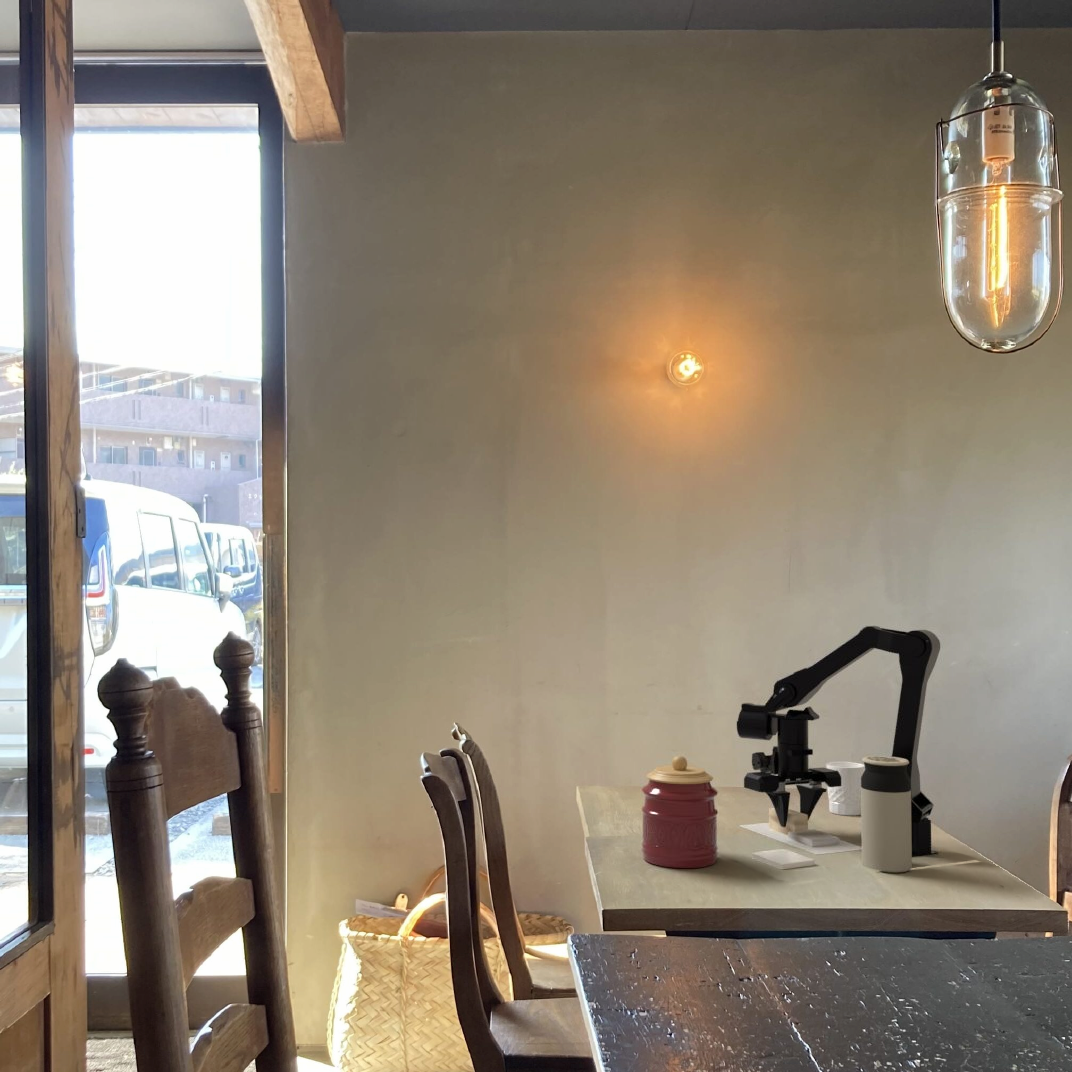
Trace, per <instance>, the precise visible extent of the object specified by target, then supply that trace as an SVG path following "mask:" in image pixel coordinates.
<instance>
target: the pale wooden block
mask: <svg viewBox="0 0 1072 1072" xmlns="http://www.w3.org/2000/svg"><path fill="white" fill-rule="evenodd" d="M808 822H809V820H808V815H807V814H803V813H800V811H798V810H794V809H792V808H791V809H790V808H789V809H788V818H787V823H786V827H781V825H780V823H779V820H778V817H777V814H776V811H775V808H774V806H773V807H768V823H769V829H771V830H774V831H777V832H780V833H783V834H785V835H788V839H791V840H794V841H796V842H799V843H802V844H805V845H808V846H810V847H818V846H827V845H837V844H839V840H840V837H839V836H835V835H832V834H829V833H826V832H823V831H820V830H817V829H813V828H812V829H810V830H808V829H809V823H808Z"/></svg>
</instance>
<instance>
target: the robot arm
mask: <svg viewBox="0 0 1072 1072" xmlns="http://www.w3.org/2000/svg"><path fill="white" fill-rule="evenodd" d="M875 649H876V650H880V651H884V652H887V653H891V654H896V655H897V654H898V660H899V662H898V663H899V668H900V673H901V688H900V694H899V695H900V696H899V702H898V709H897V716H896V723H895V731H894V738H893V745H892V752H891V753H892V754H891V756H890V757H898V758H903V759H907V760H908V761H909V764H908V765H907V771H906V772H907V774H908V776H909V778H910V780H911V839H912V858H915V857H923V856H934V855H938V854H939V851H937V850H934V849H933V850H932V820H931V819H929V816H930V815H931V814H932V811H933V808H934V803H933V802H932V801H931V800H930V799H929V798H928V797H927V796H926V795H925V793H923V791H921V779H920V778H921V774H920V769H919V764H918V751H919V745H920V744H919V743H920V737H921V729H922V723H923V722H922V721H923V717H924V716H923V715H924V707H925V701H926V694H927V686H928V682H929V679H930V677H931V675H932V673H933V670H934V668H935V666H936V663H937V659H938V657H939V654H940V651H941V641H940V639H939V637H937V635H936V634H935V633H934V632H932V631H931V630H927V629H914V630H910V631H905V630H904V631H902V630H895V629H890V628H883V627H880V626H877V625H867V626H864V627H862V628H861V629H860V630H859V632H857V633H856V634H854V635H853V636H852V637H850V638H848V639H847V640H846V641H844V642H843V643H841V644H840V645H838V646H837V647H836V648H834V649H833V650H832V651H830V652H828V653H827V654H826V655H824V656H823V657H821V658H820V659H818V660H817V661H815V662H813V664H811V665H809V666H807V667H804V668H802V669H799V670H797V671H794V672H791V673H790V674H787V675H785V676H783V677H781V678H779V679H777V681H776V682H775V683H774V685H773V690H772V691H773V693H772V695H771V696H770V697H769V699H768V700H767V702H766V703H765V704H754V703H751V702H745V703H741V709H740V712H739V713H738V717H737V720H736V732H737V735H738V737H739V738H741V739H750V740H761V741H771V740H772V738H773V736H776V735H777V740H776V741H777V744H776V746H775V745H774V746H773V747H772V754H768V755H766V754H765V752H764V751H761V752H760V751H758V752H754V753H752V754H751V766H752V769H753V770H754V771H755V772H747V773H746V774H745V776H744V778H743V788H745V789H748V790H751V791H755V792H758V793H765V794H766V795H767V797H768V798H769V799H770V801H771V804H772V805H773V807H774V808H775V811H776V814H777V817H778V820H779V823H780V825H781V827H786V823H787V818H788V809H790V808H789V807H790V800H791V799H790V797H791V792H790V791H787V790H786V786H793V785H795V787H796V789H797V791H798V793H799V812H800V813H803V814H807V815H808V821H809V819H810V817H811V816H812V814H813V811H814V810H815V808H816V806H817V804H818V803H819V801H820V799H821V797H822V796H823V794H824V793H827V792H828V789H827V788H824V787H823V784H822V783H824V784H825V785H826V787H827V786H828V787H839V786H842V777H841V775H840V774H839V772H838V771H836V770H832V769H828V768H826V767H812V768H811V767H809V756H813V755H814V751H813V748H809V721H810V722H811V721H817V720H819V719H820V715H819V714H818V713H817V712H815V710H813V708H812V707H811V706H807V707H804V709H789V708H794V707H799V706H802V705H805V704H807V703H808V702H810V700H811V699H812V698H813V697H814V696H815V695H816V694H817V693H819V691H820V690H821V688H822V687H823V685H825V684H826V683H827V682H828V681H829V680H831V678H833V677H834V676H836V675H837V674H839V673H841V672H842V671H844V670H845V669H846V668H848V667H849V666H851V665H853V664H854V663H855V662H857V661H858V660H860V659H861V658H863V657H864V656H866V655H867V654H868V653H869V652H872V651H873V650H875ZM786 709H788V711H786V713H777V712H779V711H784V710H786Z"/></svg>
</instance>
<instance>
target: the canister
mask: <svg viewBox="0 0 1072 1072" xmlns="http://www.w3.org/2000/svg"><path fill="white" fill-rule="evenodd" d="M646 779H648V783H647V784H645V785H644V786H643V787H642V788H641V792H642V793H643V794H644V805H643V806H642V808H641V811H642V841H641V852H642V856H643V857H642V858H643V859H644V861H646V862H647V863H650V864H653V865H655V866H660V867H664V868H672V869H673V868H675V869H677V868H678V869H696V868H703V867H704V868H705V867H709V866H711V865H713V864H715V863H716V861H717V857H718V854H719V852H718V849H719V847H718V842H717V836H718V835H717V833H718V832H717V829H718V828H717V821H718V820H717V817H718V814H719V811H718V809H717V808H716V804H715V798H716V797H717V795H718V794H719V792H718V790H717V788H715V787H714V786H712V784H711V782H712V781H713V779H714V777H713V776H712V775H711V774H709V773H708V772H706V771H705V769H704V768H700V767H696V766H688V760H687V758H686V757H684V756H682V755H676V756H675V757H673V759H672V762H671V765H663V766H657V767H655V769H653V770H652V771H650V772H648V773H647V774H646Z"/></svg>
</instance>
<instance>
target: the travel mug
mask: <svg viewBox="0 0 1072 1072" xmlns="http://www.w3.org/2000/svg"><path fill="white" fill-rule="evenodd" d="M861 760H862V762H863V765H865V771H864V773H863V775H862V777H861V815H860V817H861V818H860V819H861V825H860V826H861V832H860V833H861V847H862V850H861V865H862V866H863V867H866V868H868V869H871V870H876V871H879V873H884V874H885V873H886V874H903V873H905V872H908V871H910V870H912V869H913V860H912V859H913V857H912V839H911V780H910V778H909V776H908V774H907V772H906V771H907V765H908V764H909V761H908V760H907V759H903V758H898V757H891V756H887V755H868V756H864V757H863V758H862V759H861Z"/></svg>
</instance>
